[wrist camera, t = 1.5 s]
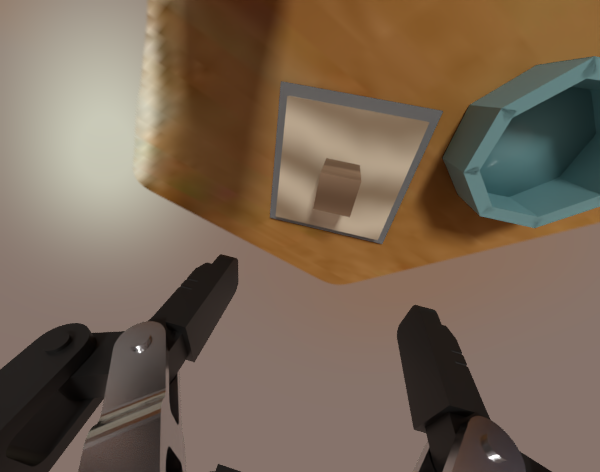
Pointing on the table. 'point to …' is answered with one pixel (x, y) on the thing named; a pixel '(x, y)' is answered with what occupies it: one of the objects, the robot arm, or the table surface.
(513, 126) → the bowl
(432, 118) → the mat
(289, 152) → the lid
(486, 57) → the table surface
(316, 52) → the table surface
